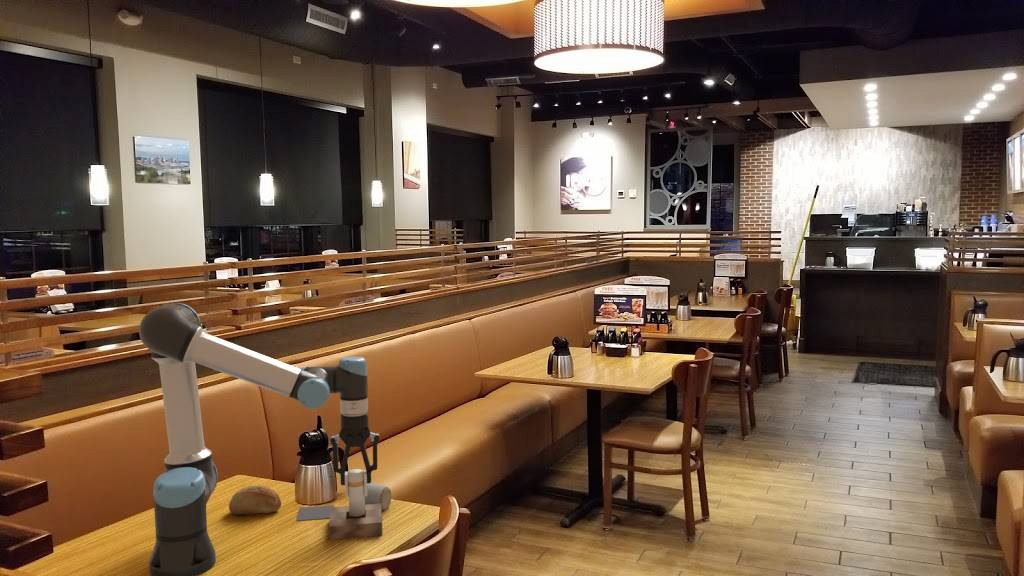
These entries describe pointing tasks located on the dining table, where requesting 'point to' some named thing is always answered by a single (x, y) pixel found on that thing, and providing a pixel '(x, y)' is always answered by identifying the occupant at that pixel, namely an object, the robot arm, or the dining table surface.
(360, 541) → the dining table surface
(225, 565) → the dining table surface
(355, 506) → the white banded cylinder
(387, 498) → the ceramic mug
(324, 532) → the dining table surface
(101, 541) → the dining table surface
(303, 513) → the mat
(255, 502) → the bread roll
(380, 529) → the block
